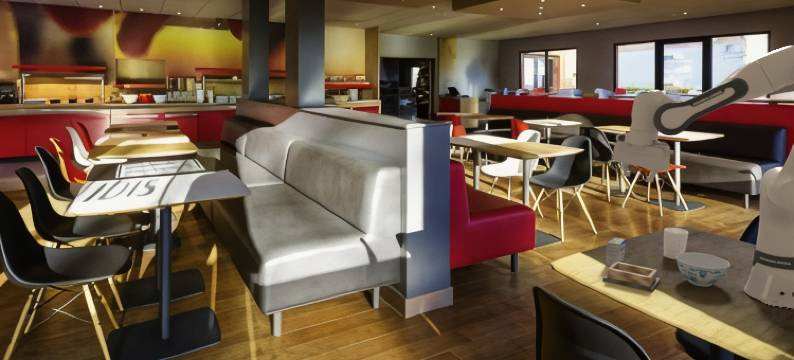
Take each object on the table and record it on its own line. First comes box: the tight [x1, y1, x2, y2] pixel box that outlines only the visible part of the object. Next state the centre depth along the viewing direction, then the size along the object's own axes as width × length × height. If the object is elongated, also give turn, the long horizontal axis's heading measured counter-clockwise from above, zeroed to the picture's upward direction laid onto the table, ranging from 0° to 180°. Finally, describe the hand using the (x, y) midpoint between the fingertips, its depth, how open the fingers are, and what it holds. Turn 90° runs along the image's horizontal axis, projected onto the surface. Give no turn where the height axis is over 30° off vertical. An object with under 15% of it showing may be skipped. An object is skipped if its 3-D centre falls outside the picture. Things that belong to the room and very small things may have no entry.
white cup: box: [663, 227, 689, 260], centre depth 194 cm, size 8×8×10 cm
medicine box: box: [605, 237, 626, 267], centre depth 187 cm, size 8×4×9 cm, turn 143°
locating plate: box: [602, 262, 661, 293], centre depth 172 cm, size 15×11×4 cm
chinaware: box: [675, 252, 731, 288], centre depth 170 cm, size 15×15×8 cm
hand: (637, 178), depth 179 cm, fingers open, 8 cm apart
